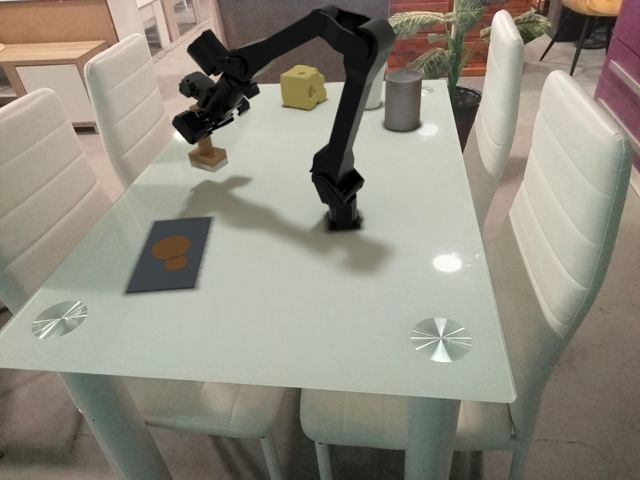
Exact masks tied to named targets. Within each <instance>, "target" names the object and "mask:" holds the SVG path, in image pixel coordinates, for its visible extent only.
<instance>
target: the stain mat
mask: <svg viewBox="0 0 640 480" xmlns="http://www.w3.org/2000/svg"><path fill="white" fill-rule="evenodd" d="M211 220H212V216H203V217H191V218H179V219H167V220H166V219H165V220H155V221H154V223H153V226H152V228H151V230H150V233H149V235H148V236H147V237H148V238H147V240H146V242H145V245H144V247H143V250H142V252H141V254H140V257H139V259H138V262H137V264H136V266H135V269H134V272H133V274H132V277H131V279H130V281H129V283H128V286H127V289H126V292H125V293H126V294H128V293H143V292H155V291H156V292H157V291H169V290H181V289H182V290H183V289H193V288H195V284H196V280H197V276H198V272H199V268H200V264H201V260H202V256H203V252H204V248H205V244H206V240H207V237H208V232H209V229H210V224H211Z"/></svg>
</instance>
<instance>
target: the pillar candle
mask: <svg viewBox="0 0 640 480" xmlns="http://www.w3.org/2000/svg"><path fill="white" fill-rule="evenodd" d="M384 78H385V79H384V81H385V83H384V88H385V89H384V127H386V128H387V129H389V130H391V131H392V130H394V131H400V132H405V131H406V132H407V131H411V130H415V129H416V128H418V127H419V126H420V123H421V108H422V107H421V105H422V90H423V88H422V87H423V86H422V85H423V74H422V73H421V72H420V71H418V70H415V69H414V70H413V69H403V68H402V69H396V70H395V69H394V70H391V71H389V72H387V73H386V74H385V76H384Z"/></svg>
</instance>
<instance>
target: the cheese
mask: <svg viewBox="0 0 640 480" xmlns="http://www.w3.org/2000/svg"><path fill="white" fill-rule="evenodd" d="M279 76H280V78H279V80H280V95H281V99H282V103H283V106H286V107H291V108H297V109H303V110H308V111H309V110H311V109H313V108H314V107H316V106H317V104H319V103H322V102H324V101H325V100H327V97H328V96H327V95H328V93H327V88H326V87H325V84H326V79H325V76H324V75H323V74H321V73H320V71H319V70H318V68H316V67H313V66H308V65H305V64H296V65H295V66H293V67H292V68H290V69H289V70H288V71H285V72H284V73H282V74H280V75H279Z"/></svg>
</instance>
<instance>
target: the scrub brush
mask: <svg viewBox="0 0 640 480" xmlns="http://www.w3.org/2000/svg"><path fill="white" fill-rule="evenodd" d="M188 110H190V111H192V112H193V111H194V112H195V113H197V112H199V111H201V110H203V109H202V108H199V107H198V106H197V105H196V103H195V104H191V105H190V106H189V107H188ZM211 135H212V134H211ZM211 135H210V136H208V137H206V138H204V139H202V140H201V141H199V142H197V143H196V144H197V147H195V148H194V149H192V150H191V151H189V152H187V156H188V159H189V163H190V164H189V165H190V167H191V168H194V169H198V170H202V171H206V172H210V173H216V172H218V171H219V170H220V169H221V170H222V168H224V167H225V166H226V165H228V164H229V159H228V153H227V150H226V148H221V147H217V146H214V145H213V141H212V136H211Z"/></svg>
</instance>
